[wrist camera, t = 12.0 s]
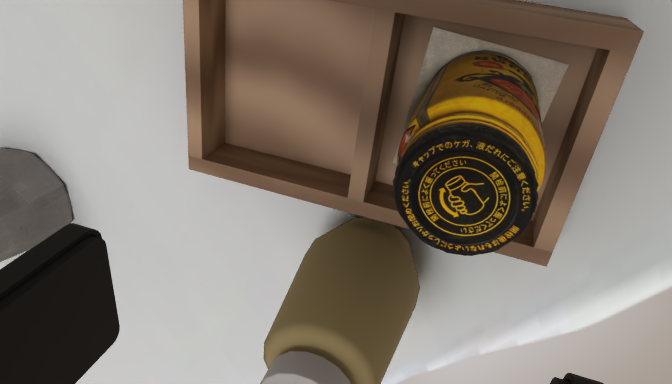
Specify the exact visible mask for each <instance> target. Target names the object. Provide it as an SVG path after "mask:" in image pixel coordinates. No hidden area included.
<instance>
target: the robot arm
mask: <svg viewBox="0 0 672 384" xmlns="http://www.w3.org/2000/svg"><path fill="white" fill-rule="evenodd" d="M118 334H119V320H118V314H117V308H116V302H115V296H114V290H113V284H112V278H111V272H110V266H109V260H108V253H107V247H106V243H105V241H104V240H103V239H102V237H101V234H100V233H99V232H98V231H97V230H94V229H91V228H87V227H84V226H81V225H77V224H74V223H73V224H68V225H66V226H64V227H62V228H61V229H60V230H58V231H57V232H55V233H54V234H52V235H51V236H49V237H48V238H46V239H45V240H43V241H42V242H40V243H39V244H37V245H36V246H34V247H33V248H31V249H30V250H28V251H27V252H25V253H24V254H23V255H21V256H20V257H18V258H17V259H15V260H14V261H12V262H11V263H9V264H8V265H6V266H5V267H3V268H2V269H0V384H75V383H76V382H77V381H78V380H79V379H80V378H81V377H82V376H83V375H84V374H85V373H86V372H87V371H88V369H89V368H90V367H91V366H92V365H93V364H94V363H95V362H96V361H97V360H98V359H99V358H100V357H101V356H102V355H103V354H104V353H105V352H106V351H107V349H108V348H109V347H110V346H111V345H112V344H113V343H114V342H115V340H116V338H117V336H118ZM550 384H603V383H601V382H598V381H595V380H591V379H588V378H584V377H581V376H578V375H575V374H572V373H567V374H566V375H565V377H564V378H563V379H559V378H556V377H554V378H553V379H552V381H551V383H550Z"/></svg>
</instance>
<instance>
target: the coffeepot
mask: <svg viewBox="0 0 672 384" xmlns="http://www.w3.org/2000/svg"><path fill="white" fill-rule="evenodd" d="M71 221H72V207H71V201H70V198H69V195H68V192H67V190H66V188H65V186H64V184H63V183H62V181H61V180H60V178H59V177H58V176H57V174H56V173H55V172H54V171H53V170H52V169H51V168H50V167H49V166H48V165H47V164H46V163H45V162H44V161H42V160H41V159H39V158H38V157H37V156H35V155H34V154H32V153H29V152H27V151H23V150H20V149H5V148H0V262H1V261H4V260H6V259H8V258H11V257H13V256H15V255H17V254H20V253H22V252H24V251H27V250H29V249H31V248H33V247H34V246H36V245H37V244H39V243H40V242H42V241H43V240H45V239H46V238H48V237H49V236H51V235H52V234H54V233H55V232H57V231H58V230H60V229H61V228H62V227H64V226H66V225H68V224H69V223H70V222H71Z"/></svg>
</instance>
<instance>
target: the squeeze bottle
mask: <svg viewBox="0 0 672 384" xmlns="http://www.w3.org/2000/svg"><path fill="white" fill-rule="evenodd" d="M419 289H420V286H419V281H418V277H417V273H416V269H415V265H414V260H413V256H412V252H411V248H410V244H409V242H408V240H407V239H406V238H405V236H404V235H403V234H402V232H401V231H400V230H399V229H398V228H396V227H395V226H393V225H392V224H389V223H385V222H382V221H378V220H374V219H370V218H367V217H361V218H354V219H352V220H350V221H348V222H346V223H345V224H343V225H341V226H339V227H337V228H335V229H333V230H331V231H329V232H328V233H326V234H324V235H322V236H320V237H319V238H317V239H315V240H314V242H313V243H312V245H311V246H310V248H309V250H308V251H307V253H306V254H305V256H304V258H303V260H302V262H301V265H300V267H299V269H298V271H297V273H296V275H295V278H294V280H293V282H292V284H291V286H290V288H289V290H288V293H287V295H286V297H285V299H284V301H283V303H282V306H281V308H280V310H279V312H278V314H277V316H276V318H275V321H274V323H273V325H272V327H271V329H270V331H269V334H268V336H267V338H266V340H265V342H264V361H265V363H266V365H267V368H268V371H267V373H266V375H265V376H264V378H263V380H262V382H261V383H260V384H381V381H382V379H383V377H384V375H385V372H386V370H387V368H388V366H389V364H390V361H391V359H392V357H393V355H394V352H395V350H396V348H397V346H398V344H399V341H400V339H401V337H402V335H403V332H404V330H405V328H406V326H407V324H408V321H409V319H410V317H411V315H412V312H413V310H414V308H415V306H416V302H417V297H418V293H419Z"/></svg>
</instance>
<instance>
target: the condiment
mask: <svg viewBox="0 0 672 384" xmlns="http://www.w3.org/2000/svg"><path fill="white" fill-rule="evenodd" d="M568 66H569V65H568V64H565V63H561V62H558V61H554V60H551V59H547V58H544V57H540V56H536V55H533V54H530V53H526V52H523V51H519V50H516V49H512V48H509V47H505V46H501V45H498V44H494V43H490V42H486V41H483V40H479V39H476V38H472V37H468V36H465V35H460V34H457V33H453V32H449V31H446V30H442V29H439V28H435V27H433V31H432V34H431V37H430V41H429V44H428V47H427V51H426V54H425V58H424V61H423V64H422V68H421V71H420V74H419V78H418V81H417V84H416V88H415V91H414V94H413V98H412V100H411V104H410V107H409V110H408V114H407V117H406V121H405V124H404V127H403V131H402V134H401V138H400V141H399V144H398V147H397V150H396V154H395V157H394V161H393V163H395V164H397V167H396V171H395V177H394V179H393V186H394V190H393V193H392V194H393V197H394V200H395V205H396V208H397V211H398V213H399V214H400V216H401V217H402V219H403V220H404V221H405V223H406V224H407V226H408V227H409V228H410V229H411V230H412V231H413V232H414V233H415V234H416V236H417V237H418V238H419V239H420V240H421V241H423V242H424V243H426V244H428V245H430V246H432V247H434V248H437V249H440V250H443V251H445V252H447V253H452V254H459V255H464V256H466V255H469V256H472V255H477V254H484V253H489V252H494V251H497V250H499V249H500V248H502V247H503V246H505V245H506V244H508V243H510V242H511V241H512V240H514V239H515V238H517V237H519V236H520V235H521V234H522V232H523V231H524V230H525V228H526V227H527V225H529V221H530V220H531V218H532V214H533V213H534V212H535V209H536V207H537V200H538V191H539V189H540V187H541V185H542V182H543V177H544V174H545V154H546V152H545V144H544V139H543V132H542V122H543V120H544V118H545V116H546V114H547V111H548V109H549V107H550V105H551V103H552V100H553V98H554V96H555V94H556V92H557V90H558V87H559V85H560V83H561V81H562V78H563V76H564V74H565V72H566V70H567V68H568Z"/></svg>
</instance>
